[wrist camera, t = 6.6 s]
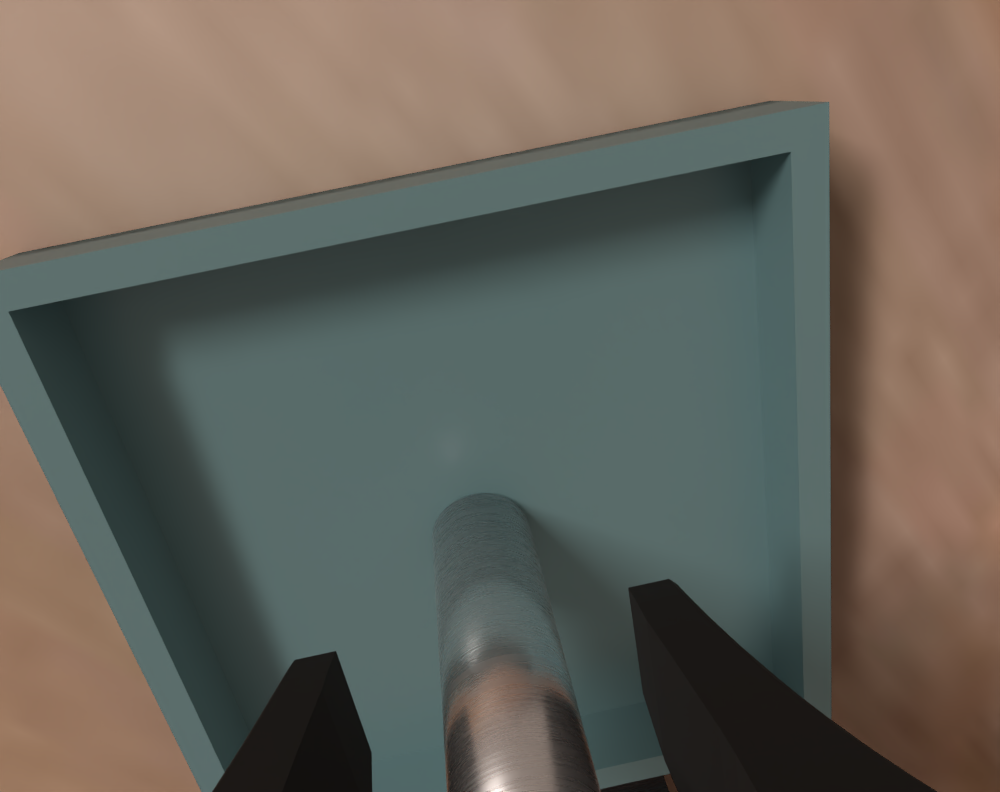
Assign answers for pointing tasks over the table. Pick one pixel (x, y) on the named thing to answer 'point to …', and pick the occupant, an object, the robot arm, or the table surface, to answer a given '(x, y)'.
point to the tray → (449, 421)
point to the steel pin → (502, 658)
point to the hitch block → (641, 786)
